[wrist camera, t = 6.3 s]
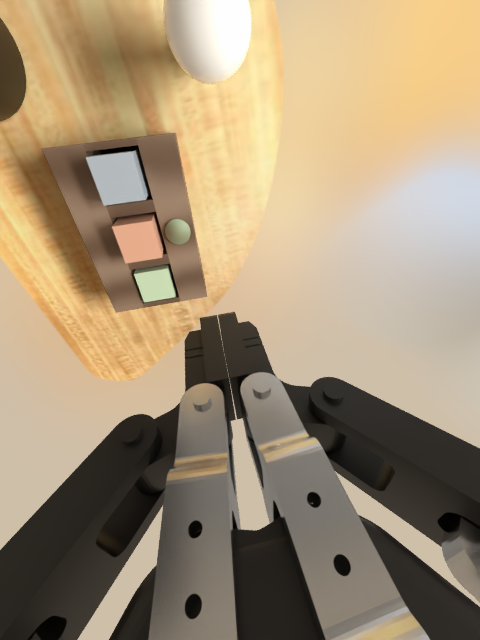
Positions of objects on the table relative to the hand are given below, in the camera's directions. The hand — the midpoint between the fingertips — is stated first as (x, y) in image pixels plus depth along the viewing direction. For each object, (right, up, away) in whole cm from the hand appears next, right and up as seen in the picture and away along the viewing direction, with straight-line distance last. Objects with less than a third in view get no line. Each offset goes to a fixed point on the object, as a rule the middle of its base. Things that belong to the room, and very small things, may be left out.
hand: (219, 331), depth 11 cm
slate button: (-11, +16, +16) cm, 26 cm away
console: (-11, +13, +22) cm, 28 cm away
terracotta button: (-11, +11, +20) cm, 25 cm away
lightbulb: (-3, +27, +14) cm, 30 cm away
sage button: (-10, +7, +25) cm, 28 cm away
